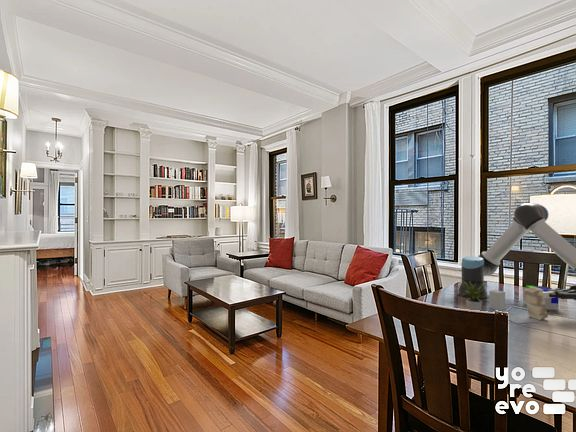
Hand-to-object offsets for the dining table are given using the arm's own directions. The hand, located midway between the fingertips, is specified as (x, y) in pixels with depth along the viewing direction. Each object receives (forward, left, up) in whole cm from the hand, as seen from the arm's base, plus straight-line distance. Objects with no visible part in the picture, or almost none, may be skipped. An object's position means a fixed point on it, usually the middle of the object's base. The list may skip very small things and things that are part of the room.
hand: (541, 295), depth 146 cm
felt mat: (-4, -10, -11) cm, 16 cm away
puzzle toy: (-11, +23, -12) cm, 28 cm away
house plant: (-21, -20, -12) cm, 32 cm away
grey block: (-19, -2, -12) cm, 22 cm away
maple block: (-1, 0, -11) cm, 11 cm away
